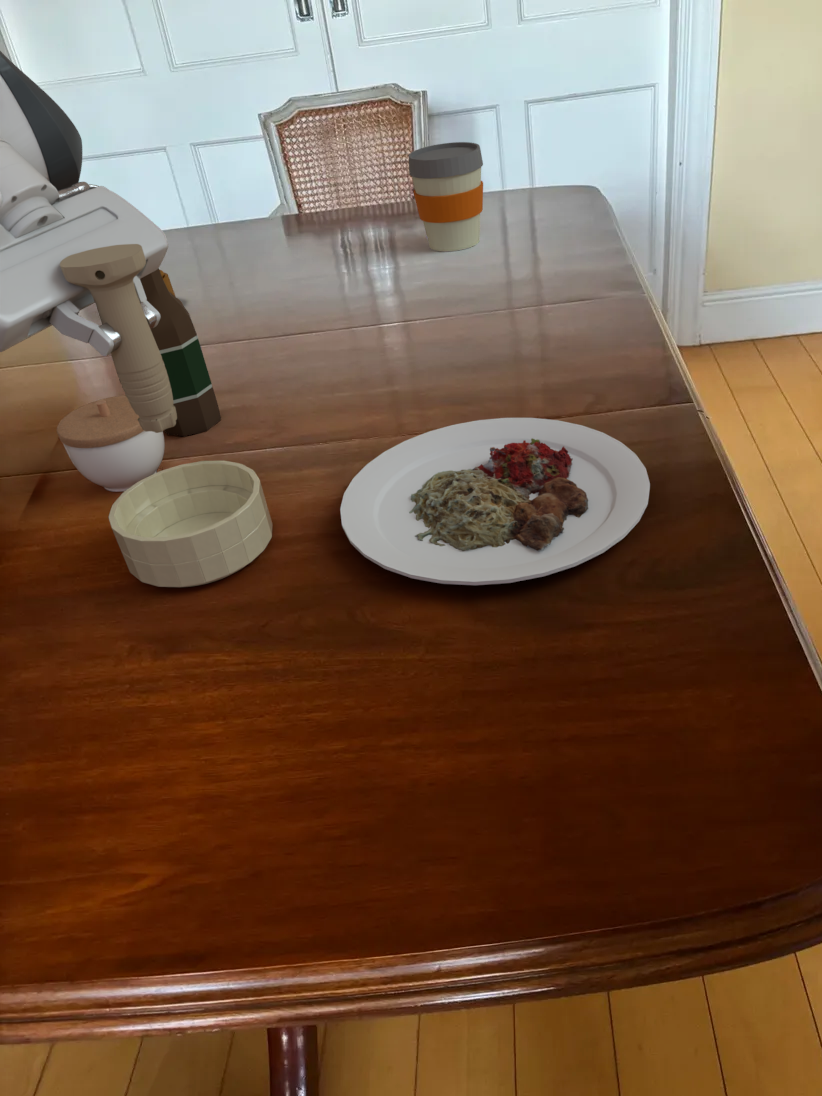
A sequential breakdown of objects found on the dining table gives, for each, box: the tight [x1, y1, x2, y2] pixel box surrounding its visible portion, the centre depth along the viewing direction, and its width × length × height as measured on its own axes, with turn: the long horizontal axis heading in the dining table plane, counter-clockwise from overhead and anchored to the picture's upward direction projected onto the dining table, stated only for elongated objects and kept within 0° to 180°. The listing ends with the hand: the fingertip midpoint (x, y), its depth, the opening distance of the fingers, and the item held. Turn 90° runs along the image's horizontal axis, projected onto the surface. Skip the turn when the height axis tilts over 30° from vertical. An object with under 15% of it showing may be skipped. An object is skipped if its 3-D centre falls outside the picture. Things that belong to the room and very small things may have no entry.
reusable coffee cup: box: [408, 141, 484, 252], centre depth 154 cm, size 13×13×15 cm
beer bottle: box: [140, 267, 222, 437], centre depth 105 cm, size 8×8×24 cm
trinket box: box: [56, 394, 166, 493], centre depth 99 cm, size 11×11×9 cm
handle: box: [60, 244, 177, 433], centre depth 75 cm, size 5×6×15 cm
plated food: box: [339, 417, 651, 586], centre depth 87 cm, size 30×30×3 cm
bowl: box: [107, 460, 274, 588], centre depth 86 cm, size 14×14×6 cm
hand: (134, 336), depth 75 cm, fingers closed on handle, 3 cm apart
